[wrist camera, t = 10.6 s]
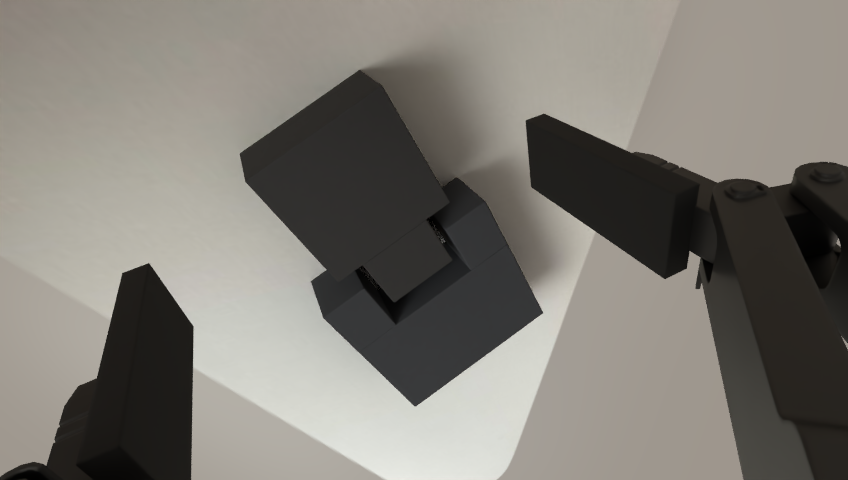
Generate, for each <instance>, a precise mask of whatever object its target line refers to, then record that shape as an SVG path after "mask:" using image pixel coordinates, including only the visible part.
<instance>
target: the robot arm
mask: <svg viewBox="0 0 848 480" xmlns="http://www.w3.org/2000/svg"><path fill="white" fill-rule="evenodd" d="M526 130H527V142H528V154H529V166H530V178H531V187H532V188H533V189H535V190H536V191H538V192H539V193H541V194H542V195H544V196H545V197H546V198H548V199H549V200H551V201H552V202H554V203H555V204H557V205H558V206H560V207H561V208H562V209H564V210H565V211H567V212H568V213H570V214H571V215H573V216H574V217H575V218H577V219H578V220H580V221H581V222H583V223H584V224H586V225H587V226H589V227H590V228H591V229H593V230H594V231H596V232H597V233H599V234H600V235H602V236H603V237H605V238H606V239H607V240H609V241H610V242H612V243H613V244H615V245H616V246H618V247H619V248H621V249H622V250H623V251H625V252H626V253H628V254H629V255H631V256H632V257H634V258H635V259H637V260H638V261H639V262H641V263H642V264H644V265H645V266H647V267H648V268H649V269H651V270H652V271H654V272H655V273H657V274H658V275H660V276H661V277H663V278H664V279H666V278H668V277H670V276H672V275H674V274H676V273H678V272H681V271H682V270H684V269H687V263H688V257H689V251H691V252H693V253H694V254H696V255H698V256H699V257H701V259H700V264H699V270H698V276H697V282H696V289H700V286H701V283H702V285H703V289H704V294H705V299H706V304H707V308H708V313H709V318H710V323H711V327H712V332H713V337H714V341H715V346H716V351H717V356H718V360H719V365H720V370H721V374H722V379H723V384H724V389H725V393H726V399H727V403H728V408H729V413H730V417H731V422H732V427H733V431H734V436H735V441H736V446H737V450H738V455H739V460H740V465H741V470H742V474H743V479H744V480H848V350H847V348H846V345H845V343H844V341H843V339H842V337H843V338H844V339H845V341H846V342H847V343H848V167H847V166H843V165H839V164H837V163H831V162H829V163H828V162H818V163H808V164H804V165H801V166H799V167H798V168H796V170H795V173H794V177H793V181H792V183H791V184H786V185H781V186H776V187H770V188H769V187H768V186H766V185H764V184H762V183H760V182H757V181H753V180H748V179H731V180H724V181H722V182H719V183H717V182H714V181H712V180H709V179H707V178H705V177H703V176H700V175H698V174H696V173H693V172H691V171H689V170H687V169H684V168H682V167H681V168H679V167H678V166H677V165H675V164H673V163H667V161H666V160H663V159H661V158H659V157H657V156H654V155H650V154H645V153H639V152H634V153H630V152H628V151H626V150H624V149H621V148H619V147H617V146H615V145H612V144H610V143H608V142H606V141H604V140H601V139H599V138H597V137H595V136H593V135H590V134H588V133H586V132H584V131H581V130H579V129H577V128H575V127H573V126H570V125H568V124H566V123H564V122H561V121H559V120H557V119H555V118H553V117H550V116H548V115H546V114H542V115H539V116H536V117H534V118H531V119H528V120H526ZM838 238H839V241H840V244H841V247H839V246H838V245H837V244H836V242H837V240H838ZM841 336H842V337H841ZM192 383H193V325H192V324H191V322H190V321H189V320H188V318H187V317H186V315H185V314H184V312H183V311H182V310H181V308H180V307H179V305H178V304H177V302H176V301H175V300H174V298H173V297H172V295H171V294H170V292H169V291H168V290H167V288H166V287H165V285H164V284H163V282H162V281H161V280H160V278H159V277H158V275H157V274H156V272H155V271H154V270H153V268H152V267H151V265H150V264H149V263H148V264H146V265H143V266H140V267H138V268H135V269H132V270H130V271H127V272H124V273H122V277H121V282H120V286H119V290H118V294H117V298H116V302H115V306H114V310H113V314H112V318H111V322H110V327H109V331H108V335H107V339H106V343H105V347H104V351H103V355H102V360H101V363H100V368H99V372H98V376H97V379H94V380H92V381H90V382H87V383H85V384H82V385H80V386H78V387H77V389H76V390H75V392H74V393H73V395H72V396H71V397H70V399H69V400H68V402H67V403H66V405H65V406H64V409H63V413H62V416H61V419H60V423H59V425H60V427H59V428H58V429H57V433H56V436H55V443H53V446H52V449H51V453H50V456H49V459H48V462H47V466H45V465H44V464H40V463H36V462H32V463H28V464H23V465H20V466H18V467H16V468H14V469H13V470H11V471H8V472H7V473H5V474H4V475H2V476H1V477H0V480H191V448H192V388H193V387H192V386H193V384H192Z"/></svg>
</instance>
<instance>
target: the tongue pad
mask: <svg viewBox="0 0 848 480" xmlns="http://www.w3.org/2000/svg"><path fill="white" fill-rule="evenodd" d="M240 157H241V162H242V167H243V172H244V177H245V182H246V183H247V184H248V185H249V186H250V187H251V188H252V189H253V190H254V191H255V192H256V194H257V195H258V196H259V197H260V198H261V199H262V200H263V201H264V202H265V203H266V204H267V206H268V207H269V208H270V209H271V210H272V211H273V212H274V213H275V214H276V215H277V216H278V217H279V219H280V220H281V221H282V222H283V223H284V224H285V225H286V226H287V227H288V228H289V229H290V230H291V232H292V233H293V234H294V235H295V236H296V237H297V238H298V239H299V240H300V241H301V242H302V243H303V245H304V246H305V247H306V248H307V249H308V250H309V251H310V252H311V253H312V254H313V255H314V256H315V258H316V259H317V260H318V261H319V262H320V263H321V264H322V265H323V266H324V267H325V268H326V269H327V271H328V272H329V273H330V274H331V275H332V276H333V277H334V278H335V279H336V280H337V281H338V282H340V281H341V280H342V279H344V278H345V277H347V276H348V275H349V274H351V273H352V272H354V271H355V270H356V269H358V268H359V267H361V266H362V265H363V267H364V268H365V269H366V270H367V271H368V272H369V274H370V275H371V276H372V277H373V278H374V280H375V281H376V282H377V283H378V284H379V286H380V287H381V288H382V289H383V290H384V292H385V293H386V294H387V295H388V296H389V297H390V299H391V300H392V301H393V302H396V301H397V300H399V299H400V298H401V297H403V296H404V295H406V294H407V293H408V292H410V291H411V290H412V289H414V288H415V287H417V286H418V285H419V284H421V283H422V282H424V281H425V280H426V279H428V278H429V277H430V276H432V275H433V274H435V273H436V272H437V271H439V270H440V269H442V268H443V267H444V266H446V265H447V264H448V263H450V262H451V261H452V258H451V256H450V255H449V253H448V252H447V250H446V249H445V247H444V245H443V244H442V242H441V241H440V239H439V238H438V236H437V235H436V233H435V232H434V230H433V228H432V227H431V225H430V224H429V222H428V221H427V219H428V218H429V217H430V216H432V215H433V214H435V213H436V212H437V211H439V210H440V209H442V208H443V207H444V206H446V205H447V204H449V203H450V201H449V200H448V198H447V196H446V194H445V193H444V191H443V189H442V188H441V186H440V184H439V182H438V181H437V179H436V177H435V176H434V174H433V172H432V170H431V169H430V167H429V165H428V164H427V162H426V160H425V158H424V157H423V155H422V153H421V152H420V150H419V148H418V146H417V145H416V143H415V141H414V140H413V138H412V136H411V134H410V133H409V131H408V129H407V128H406V126H405V124H404V123H403V121H402V119H401V117H400V116H399V114H398V112H397V111H396V109H395V107H394V105H393V104H392V102H391V100H390V99H389V97H388V95H387V93H386V92H385V90H384V88H383V87H382V85H380V84H379V83H377V82H376V81H374V80H373V79H372V78H370V77H369V76H367V75H366V74H365V73H363V72H362V71H360V70H359V71H358V72H356V73H355V74H353V75H352V76H350V77H349V78H348V79H346V80H345V81H343V82H342V83H340V84H339V85H337V86H336V87H335V88H333V89H332V90H330V91H329V92H327V93H326V94H325V95H323V96H322V97H320V98H319V99H317V100H316V101H315V102H313V103H312V104H310V105H309V106H307V107H306V108H305V109H303V110H302V111H300V112H299V113H297V114H296V115H295V116H293V117H292V118H290V119H289V120H287V121H286V122H284V123H283V124H282V125H280V126H279V127H277V128H276V129H274V130H273V131H272V132H270V133H269V134H267V135H266V136H264V137H263V138H262V139H260V140H259V141H257V142H256V143H254V144H253V145H252V146H250V147H249V148H247V149H246V150H244V151H243V152H242V153H240Z"/></svg>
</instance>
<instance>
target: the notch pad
mask: <svg viewBox="0 0 848 480" xmlns="http://www.w3.org/2000/svg"><path fill="white" fill-rule="evenodd" d="M442 189H443V191H444V193H445V194H446V196H447V198H448V200H449V201H450V203H449V204H447V205H446V206H444V207H443V208H442V209H440V210H439V211H437V212H436V213H435V214H433V215H432V216H430V218H431V219H432V221H433V222H434V224H435V225H436V227H437V229H438V230H439V232H440V233H441V235H442V236H443V238H444V240H445V241H446V243H444V244H443V245H444V247H445V249H446V250H447V252H448V253H449V255H450V256H451V258H452V261H451V262H450V263H448V264H447V265H446V266H444V267H443V268H442V269H440V270H439V271H437V272H436V273H435V274H433V275H432V276H430V277H429V278H428V279H426V280H425V281H424V282H422V283H421V284H419V285H418V286H417V287H415V288H414V289H412V290H411V291H410V292H408V293H407V294H406V295H404V296H403V297H401V298H400V299H399V300H397V301H396V302H393V301H392V300H391V299H390V297H389V296H388V295H387V294H386V293H385V292H384V290H383V289H380V290H379V291H378V290H377V289H376V288H375V287H374V285H373V284H372V283H371V282H370V281H369V280H368V278H367V277H366V276H365V275H364V274H363V273H362V271H361V270H360V269H359V268H358V269H356V270H355V271H354V272H352V273H351V274H349V275H348V276H347V277H345V278H344V279H342V280H341V281H340V282H338V281H337V280H336V279H335V278H334V277H333V276H332V275H331V274H330V273H329V272H328V271H325V272H324V273H322V274H321V275H320V276H318V277H317V278H315V279H314V280H313V281H311V283H312V286H313V289H314V292H315V295H316V298H317V301H318V303H319V306H320V309H321V312H322V315H323V318H324V319H325V320H326V321H327V322H328V323H329V324H330V325H331V326H332V327H333V328H334V329H335V330H336V331H337V332H338V333H339V334H340V335H342V336H343V337H344V338H345V339H346V340H347V341H348V342H349V343H350V344H351V345H352V346H353V347H354V348H355V349H356V350H357V351H358V352H359V353H360V354H361V355H362V356H363V357H364V358H365V359H366V360H367V361H368V362H370V363H371V364H372V365H373V366H374V367H375V368H376V369H377V370H378V371H379V372H380V373H381V374H382V375H383V376H384V377H385V378H386V379H387V380H388V381H389V382H390V383H391V384H392V385H393V386H394V387H395V388H396V389H397V390H398V391H399V392H400V393H401V394H403V395H404V396H405V397H406V398H407V399H408V400H409V401H410V402H411V403H412V404H413V405H414V406H417V405H418V404H420V403H421V402H422V401H424V400H425V399H427V398H428V397H429V396H431V395H432V394H433V393H435V392H436V391H437V390H439V389H440V388H442V387H443V386H444V385H446V384H447V383H448V382H450V381H451V380H452V379H454V378H455V377H457V376H458V375H459V374H461V373H462V372H463V371H465V370H466V369H467V368H469V367H470V366H472V365H473V364H474V363H476V362H477V361H478V360H480V359H481V358H482V357H484V356H485V355H487V354H488V353H489V352H491V351H492V350H493V349H495V348H496V347H497V346H499V345H500V344H502V343H503V342H504V341H506V340H507V339H508V338H510V337H511V336H512V335H514V334H515V333H517V332H518V331H519V330H521V329H522V328H523V327H525V326H526V325H527V324H529V323H530V322H532V321H533V320H534V319H536V318H537V317H538V316H540V315H541V314H542V313H543V311H542V310H541V308H540V306H539V304H538V302H537V300H536V298H535V296H534V294H533V292H532V290H531V288H530V286H529V284H528V283H527V281H526V279H525V277H524V275H523V273H522V271H521V269H520V267H519V265H518V263H517V261H516V259H515V257H514V256H513V254H512V252H511V250H510V248H509V246H508V244H507V242H506V240H505V238H504V236H503V234H502V233H501V231H500V229H499V227H498V225H497V223H496V221H495V219H494V217H493V215H492V213H491V211H490V209H489V207H488V206H487V204H486V202H485V201H484V200H483V199H482V198H481V197H479V196H478V195H477V194H476V193H475V192H474V191H472V190H471V189H470V188H469V187H468V186H467V185H465V184H464V183H463V182H462V181H461V180H460V179H458V178H456V179H454V180H453V181H451V182H450V183H449V184H447V185H446V186H444V187H443V188H442Z"/></svg>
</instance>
